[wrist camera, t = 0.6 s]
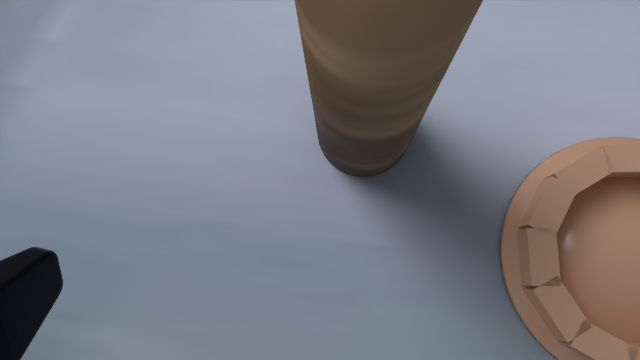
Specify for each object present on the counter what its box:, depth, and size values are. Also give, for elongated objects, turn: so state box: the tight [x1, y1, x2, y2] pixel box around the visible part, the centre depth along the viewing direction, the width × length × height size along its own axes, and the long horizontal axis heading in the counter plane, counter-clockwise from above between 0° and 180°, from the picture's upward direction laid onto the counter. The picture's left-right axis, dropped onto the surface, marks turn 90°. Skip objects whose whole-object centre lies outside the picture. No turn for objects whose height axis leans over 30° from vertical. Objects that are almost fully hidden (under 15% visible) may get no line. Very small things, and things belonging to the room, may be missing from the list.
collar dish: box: [500, 137, 640, 360], centre depth 21 cm, size 11×11×2 cm
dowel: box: [295, 0, 483, 177], centre depth 17 cm, size 4×4×13 cm
